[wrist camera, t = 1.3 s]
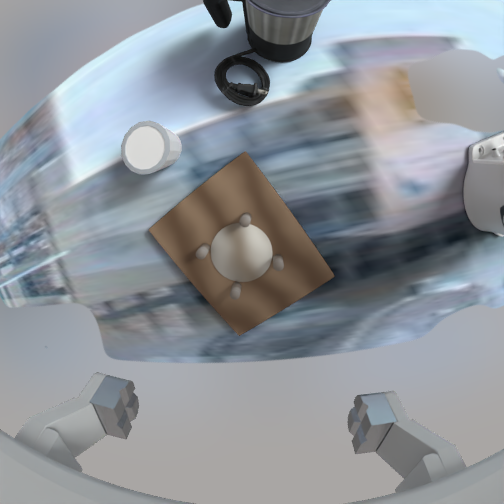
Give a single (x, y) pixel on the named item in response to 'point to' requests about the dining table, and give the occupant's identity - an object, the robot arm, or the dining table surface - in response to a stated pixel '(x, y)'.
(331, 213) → the dining table surface
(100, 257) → the dining table surface
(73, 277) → the dining table surface
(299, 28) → the milk frother
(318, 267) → the pin board
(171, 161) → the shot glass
